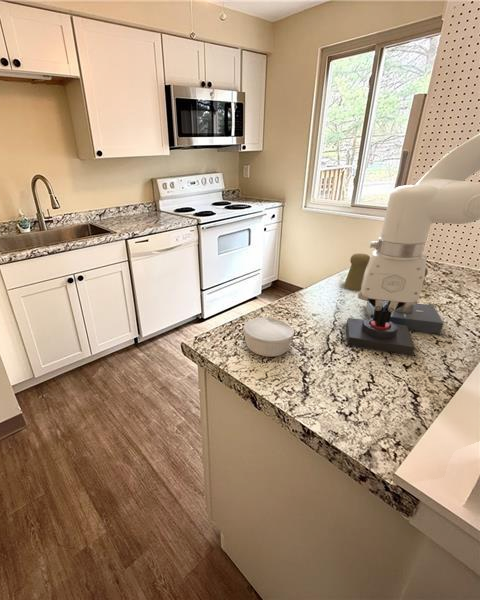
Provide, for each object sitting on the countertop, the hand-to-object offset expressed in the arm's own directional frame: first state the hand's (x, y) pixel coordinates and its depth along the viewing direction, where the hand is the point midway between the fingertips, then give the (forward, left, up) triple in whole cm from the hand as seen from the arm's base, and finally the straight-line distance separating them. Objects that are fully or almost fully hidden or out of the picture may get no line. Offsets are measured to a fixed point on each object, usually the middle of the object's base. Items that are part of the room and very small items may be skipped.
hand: (379, 323), depth 72 cm
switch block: (0, 0, -4) cm, 4 cm away
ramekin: (+23, +12, -5) cm, 26 cm away
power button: (0, 0, -2) cm, 2 cm away
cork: (+3, -32, -5) cm, 33 cm away
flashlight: (-10, -38, -5) cm, 40 cm away
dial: (-6, -12, -1) cm, 14 cm away
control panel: (-6, -12, -4) cm, 14 cm away
